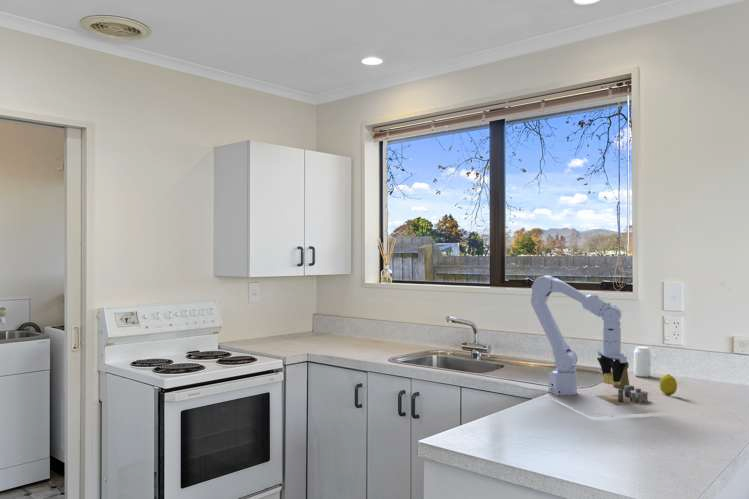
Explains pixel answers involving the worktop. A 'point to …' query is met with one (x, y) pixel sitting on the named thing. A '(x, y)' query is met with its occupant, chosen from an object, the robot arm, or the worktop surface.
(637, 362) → the beverage can
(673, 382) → the lemon
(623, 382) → the cork
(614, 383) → the gear
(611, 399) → the gear board
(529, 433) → the worktop surface
